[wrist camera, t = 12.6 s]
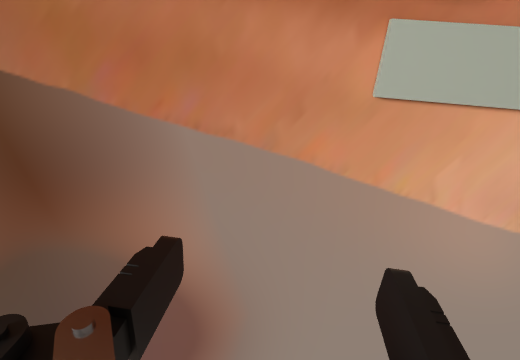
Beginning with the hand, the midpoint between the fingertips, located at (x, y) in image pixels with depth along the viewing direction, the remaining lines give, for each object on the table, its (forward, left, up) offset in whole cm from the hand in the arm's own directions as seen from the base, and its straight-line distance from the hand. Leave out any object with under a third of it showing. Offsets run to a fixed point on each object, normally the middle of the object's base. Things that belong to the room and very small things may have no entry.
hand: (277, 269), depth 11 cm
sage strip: (-8, +22, -28) cm, 36 cm away
